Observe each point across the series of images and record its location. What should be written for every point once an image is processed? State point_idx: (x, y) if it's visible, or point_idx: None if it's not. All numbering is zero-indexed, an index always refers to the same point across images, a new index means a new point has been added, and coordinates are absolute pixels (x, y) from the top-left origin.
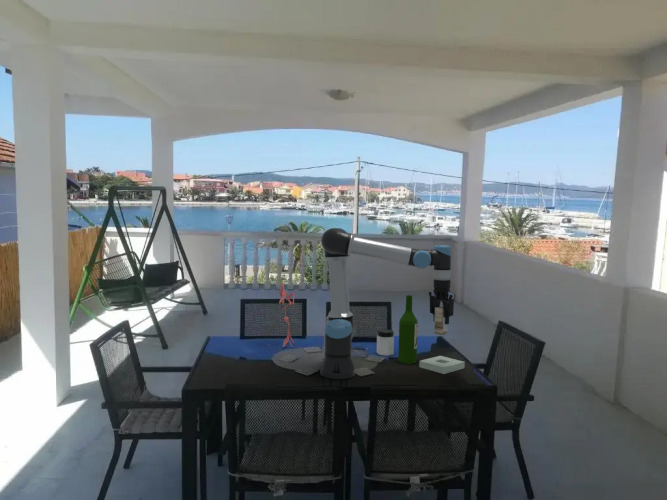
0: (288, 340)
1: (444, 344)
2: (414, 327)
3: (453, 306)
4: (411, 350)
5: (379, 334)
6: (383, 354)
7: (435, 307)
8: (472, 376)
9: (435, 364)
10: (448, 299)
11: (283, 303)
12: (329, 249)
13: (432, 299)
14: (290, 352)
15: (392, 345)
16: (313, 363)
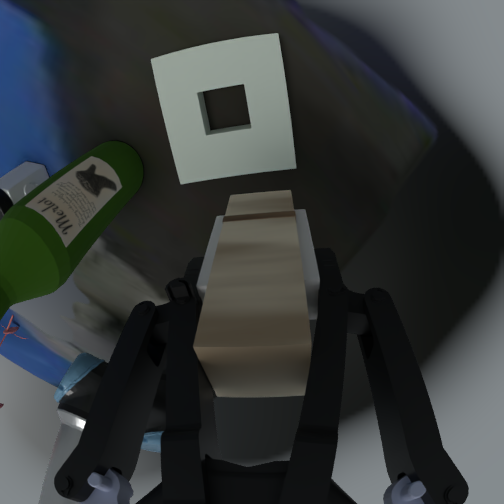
0: (8, 328)
1: None
2: (75, 238)
3: (418, 370)
4: (124, 196)
5: None
6: None
7: (218, 395)
8: (366, 97)
9: (248, 165)
10: (388, 474)
11: None
12: None
13: (134, 444)
14: (39, 332)
15: (30, 185)
16: (102, 345)
